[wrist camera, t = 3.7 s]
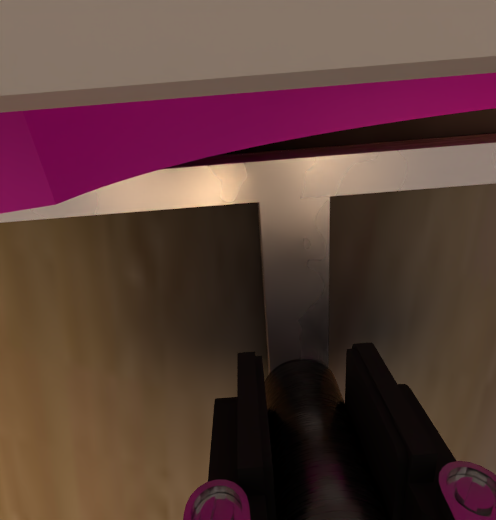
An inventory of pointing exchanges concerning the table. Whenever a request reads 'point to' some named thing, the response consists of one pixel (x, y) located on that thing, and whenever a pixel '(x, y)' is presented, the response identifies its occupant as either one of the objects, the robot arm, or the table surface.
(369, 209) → the table surface
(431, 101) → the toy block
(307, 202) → the slider
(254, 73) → the tunnel
